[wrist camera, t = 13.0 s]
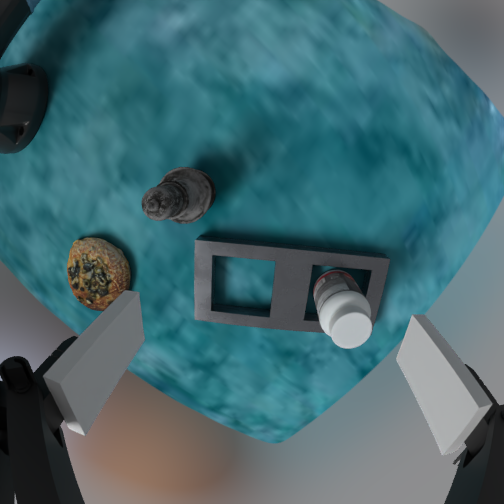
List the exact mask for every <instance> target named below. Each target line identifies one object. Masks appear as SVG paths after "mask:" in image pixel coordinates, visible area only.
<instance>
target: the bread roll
mask: <svg viewBox="0 0 504 504" xmlns="http://www.w3.org/2000/svg"><path fill="white" fill-rule="evenodd" d="M128 263H129V262H128V261H127V260H126V258H125V256H124V254H123V252H122V250H120V249H118V248H117V247H116V246H114V245H112V244H111V243H108V242H107V241H105V240H103V239H100V238H91V237H90V238H88V237H87V238H84V239H83V240H76V241H75V242H74V243H73V246H72V248H71V249H70V254H69V259H68V263H67V272H68V280H69V284H70V287H71V289H72V291H73V294H74V295H75V296H76V298H77V300H78V301H79V302H81V303H82V304H83V305H85V306H86V307H88V308H90V309H92V310H97V311H104V310H105V309H106V308H107V307H108V306H109V305H110V304H111V303H112V302H113V301H114V300H115V299H116V298H118V297H119V296H120V295H121V294H122V293H123V292H124V291H125V290H129V288H130V286H129V285H130V278H131V270H130V269H131V268H130V266H129V264H128Z"/></svg>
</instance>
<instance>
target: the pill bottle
mask: <svg viewBox="0 0 504 504" xmlns="http://www.w3.org/2000/svg"><path fill="white" fill-rule="evenodd" d="M313 297H314V301H315V305H316V309H317V313H318V317H319V321H320V324H321V327H322V329H323V330H324V332H325V333H326V334H327V335H329V336H331V337H332V340H333V341H334V343H335V344H336V345H338V346H339V347H342V348H355V347H358V346H360V345H361V344H363V343H364V342H365V341H366V340H367V339H368V338H369V336H370V334H371V332H372V322H371V320H370V317H371V308H370V305H369V303H368V301H367V299H366V298H365V296H364V295H363V293H362V291H361V290H360V288H359V287H358V285H357V283H356V282H355V280H354V279H353V277H352V276H351V275H350V274H348V273H347V272H345V271H342V270H330V271H327V272H325V273H324V274H322V275H321V276H320V277H319V278H318V279H317V281H316V282H315V284H314V288H313Z"/></svg>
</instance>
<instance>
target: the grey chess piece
mask: <svg viewBox="0 0 504 504" xmlns="http://www.w3.org/2000/svg"><path fill="white" fill-rule="evenodd" d="M214 199H215V186H214V183H213V181H212V179H211V178H210V177H209V176H208V175H207V174H206V173H204V172H203V171H200V170H196V169H193V168H189V167H179V168H176V169H173V170H171V171H170V172H168V173H167V174H166V175H165V176H164V177H163V178H162V180H161V182H160V184H158V185H157V187H153V188H151V189H149V190H148V191H147V192H146V193H145V194H144V196H143V198H142V209H143V211H144V213H145V215H146V216H147V217H149V218H150V219H152V220H156V221H161V220H165V219H171V220H172V221H174V222H177V223H186V224H187V223H191V222H195V221H196V220H198V219H200V218H201V217H202V216H203V215H204V214H205V213H206V211H207V210H208V209H209V208H210V207H211V206H212V204H213V202H214Z"/></svg>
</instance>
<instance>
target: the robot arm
mask: <svg viewBox="0 0 504 504" xmlns="http://www.w3.org/2000/svg"><path fill="white" fill-rule="evenodd" d="M39 2H40V0H0V59H1V57H2V55H3V54H4V52H5V51H6V49H7V47H8V46H9V44H10V43H11V41H12V40H13V38H14V37H15V35H16V34H17V32H18V31H19V29H20V28H21V26H22V25H23V24H24V22H25V21H26V19H27V18H28V17H29V15H30V14H32V13H33V12H34V8H35V7H36V6H37V4H38V3H39ZM47 98H48V80H47V76H46V74H45V72H44V70H43V69H42V68H41V67H39V66H37V65H33V64H29V63H23V64H17V65H12V66H7V67H2V68H0V153H3V154H9V153H17V152H19V151H21V150H22V149H24V148H25V147H26V146H27V145H28V144H29V143H30V141H31V140H32V139H33V137H34V135H35V134H36V132H37V130H38V128H39V126H40V123H41V121H42V118H43V115H44V112H45V108H46V104H47ZM144 340H145V338H144V331H143V323H142V315H141V306H140V297H139V292H134V291H128V290H125V291H124V292H123V293H122V294H121V295H120V296H119V297H118V298H116V299H115V300H114V301H113V302H112V303H111V304H110V305H109V306H108V307H107V308H106V309H105V310H104V311H103V312H102V313H101V314H100V316H99V317H98V318H97V319H96V320H95V321H94V322H93V323H92V324H91V325H90V326H89V327H88V328H87V329H86V330H85V331H84V332H83V333H82V334H81V335H80V336H79V337H75V336H73V337H71V338H69V339H67V340H65V341H64V342H63V343H61V345H60V346H59V347H58V348H57V350H55V351H54V352H53V353H52V354H51V356H49V357H48V358H47V359H46V360H45V361H44V362H43V363H42V364H41V365H40V367H39V368H38V369H37V370H36V371H35V372H34V373H33V371H32V369H31V366H30V364H29V362H28V360H26V359H25V358H23V357H20V356H14V357H10V358H8V359H6V360H4V361H3V362H2V363H1V364H0V376H1V378H2V380H3V381H0V504H14V498H15V497H14V495H15V494H16V500H17V504H85V503H84V500H83V498H82V495H81V492H80V489H79V487H78V484H77V481H76V478H75V475H74V471H73V468H72V465H71V462H70V458H69V455H68V451H67V447H66V443H65V439H64V435H63V431H62V428H61V426H60V425H61V423H62V422H63V420H65V422H66V424H67V426H68V428H69V429H71V430H73V431H75V432H77V433H80V434H82V435H85V436H86V434H87V433H88V431H89V429H90V427H91V426H92V424H93V422H94V421H95V419H96V417H97V416H98V414H99V412H100V411H101V409H102V407H103V406H104V404H105V402H106V400H107V399H108V397H109V396H110V394H111V393H112V391H113V389H114V387H115V386H116V384H117V383H118V381H119V380H120V378H121V376H122V375H123V373H124V372H125V370H126V369H127V367H128V365H129V364H130V362H131V361H132V359H133V357H134V356H135V354H136V353H137V351H138V350H139V348H140V347H141V345H142V344H143V342H144ZM396 360H397V362H398V364H399V366H400V368H401V370H402V372H403V374H404V376H405V378H406V379H407V381H408V383H409V385H410V387H411V389H412V391H413V393H414V395H415V397H416V399H417V401H418V403H419V406H420V408H421V410H422V412H423V414H424V416H425V418H426V420H427V422H428V424H429V427H430V429H431V431H432V433H433V436H434V438H435V440H436V442H437V445H438V447H439V449H440V452H441V454H442V456H443V455H446V454H450V453H452V452H456V451H457V450H458V449H459V448H460V446H461V445H462V444H463V443H464V442H465V444H466V446H467V447H466V448H465V450H464V451H463V452H462V453H461V454H460V455H459V456H458V457H457V459H456V460H455V461H454V463H453V464H456V463H457V461H459V460H460V463H459V464H458V469H457V472H456V475H455V478H454V480H453V483H452V486H451V489H450V491H449V494H448V496H447V498H446V501H445V503H444V504H504V405H500V406H499V404H498V403H497V402H496V400H495V399H494V397H493V396H492V394H491V393H490V391H489V390H488V389H487V387H486V386H485V385H484V383H483V382H482V380H481V379H479V376H478V375H477V374H476V372H475V371H474V370H473V369H472V368H470V367H469V366H468V365H466V364H464V363H463V362H462V361H461V359H460V358H459V357H458V355H457V354H456V353H455V351H454V350H453V349H452V348H451V346H450V345H449V344H448V343H447V341H446V340H445V339H444V338H443V336H442V335H441V334H440V333H439V331H438V330H437V329H436V328H435V327H434V325H433V324H432V323H431V322H430V321H429V319H428V318H427V317H426V316H425V315H412V317H411V320H410V323H409V326H408V328H407V331H406V334H405V337H404V339H403V342H402V345H401V347H400V350H399V353H398V355H397V358H396Z"/></svg>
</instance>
